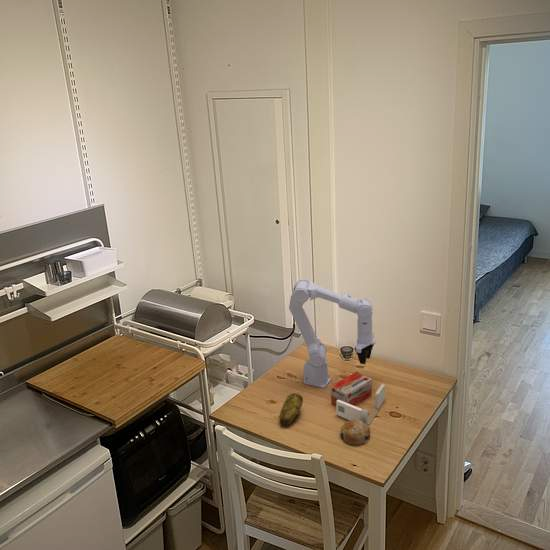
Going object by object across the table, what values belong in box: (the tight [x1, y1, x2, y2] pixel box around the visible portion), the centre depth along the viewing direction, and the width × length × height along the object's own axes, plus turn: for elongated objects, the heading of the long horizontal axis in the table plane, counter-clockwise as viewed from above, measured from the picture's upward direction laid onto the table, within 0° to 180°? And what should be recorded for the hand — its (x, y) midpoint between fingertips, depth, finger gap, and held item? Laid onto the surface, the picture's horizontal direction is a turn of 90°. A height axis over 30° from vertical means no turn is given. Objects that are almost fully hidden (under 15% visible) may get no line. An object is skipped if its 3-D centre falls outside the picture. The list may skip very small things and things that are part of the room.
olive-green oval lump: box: [279, 393, 304, 426], centre depth 215 cm, size 8×13×8 cm, turn 136°
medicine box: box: [330, 371, 373, 407], centre depth 224 cm, size 15×8×8 cm, turn 131°
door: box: [335, 400, 363, 421], centre depth 212 cm, size 1×11×6 cm, turn 48°
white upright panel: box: [362, 383, 386, 427], centre depth 215 cm, size 2×21×7 cm, turn 151°
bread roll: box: [339, 420, 371, 446], centre depth 203 cm, size 10×10×8 cm
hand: (364, 360), depth 232 cm, fingers open, 4 cm apart
